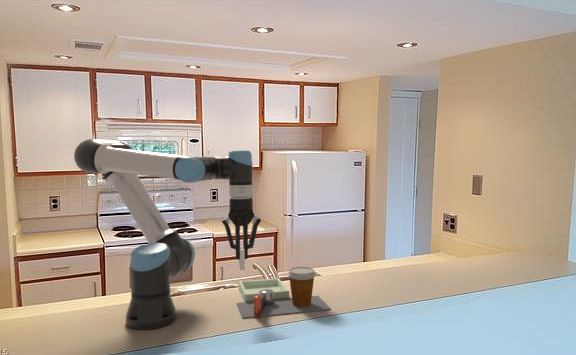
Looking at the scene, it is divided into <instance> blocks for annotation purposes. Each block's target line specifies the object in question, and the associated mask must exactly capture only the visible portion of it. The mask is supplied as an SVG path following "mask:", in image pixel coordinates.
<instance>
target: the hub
mask: <svg viewBox="0 0 576 355" xmlns="http://www.w3.org/2000/svg"><path fill="white" fill-rule="evenodd" d="M261 293H266V305H272V304H273V290H271V289H262V290H260V291H259V295H261Z"/></svg>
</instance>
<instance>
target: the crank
mask: <svg viewBox="0 0 576 355" xmlns="http://www.w3.org/2000/svg"><path fill="white" fill-rule="evenodd" d="M265 306H266V293H261V295H255V296H254V316H260V315H261V312H262V311H263V309H264V308H265Z"/></svg>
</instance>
